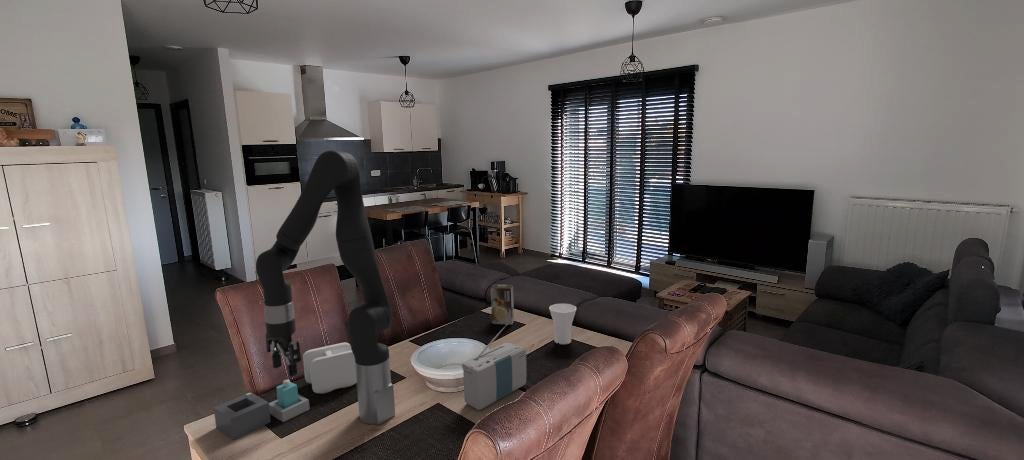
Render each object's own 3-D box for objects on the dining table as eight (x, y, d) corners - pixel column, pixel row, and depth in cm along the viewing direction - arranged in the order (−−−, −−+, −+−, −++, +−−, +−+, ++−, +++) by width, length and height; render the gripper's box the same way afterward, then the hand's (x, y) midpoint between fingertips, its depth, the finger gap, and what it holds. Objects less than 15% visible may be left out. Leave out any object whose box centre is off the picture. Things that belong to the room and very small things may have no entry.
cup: (580, 339, 188) (581, 306, 185) (569, 348, 179) (569, 314, 177) (556, 334, 193) (556, 301, 191) (544, 343, 185) (544, 309, 182)
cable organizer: (310, 397, 147) (307, 362, 145) (305, 383, 156) (301, 350, 154) (360, 384, 155) (357, 350, 153) (352, 371, 164) (349, 339, 162)
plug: (299, 410, 140) (296, 380, 139) (286, 416, 137) (283, 385, 135) (292, 406, 143) (289, 376, 141) (279, 412, 139) (275, 382, 138)
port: (270, 422, 134) (268, 401, 133) (233, 439, 126) (230, 418, 125) (253, 411, 140) (250, 391, 139) (216, 427, 132) (213, 406, 131)
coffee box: (514, 319, 210) (514, 284, 208) (512, 325, 204) (511, 288, 201) (494, 318, 212) (493, 283, 209) (491, 324, 206) (490, 287, 203)
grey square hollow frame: (309, 409, 141) (308, 399, 140) (283, 422, 134) (282, 412, 134) (294, 401, 145) (293, 392, 145) (268, 413, 139) (267, 403, 138)
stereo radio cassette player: (480, 414, 136) (477, 348, 133) (460, 404, 142) (458, 340, 139) (527, 387, 152) (527, 326, 148) (508, 378, 157) (507, 320, 154)
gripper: (306, 319, 134) (311, 373, 137) (279, 309, 142) (284, 360, 145) (280, 327, 128) (285, 383, 131) (254, 316, 136) (259, 369, 139)
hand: (285, 371), depth 138 cm, fingers open, 8 cm apart
